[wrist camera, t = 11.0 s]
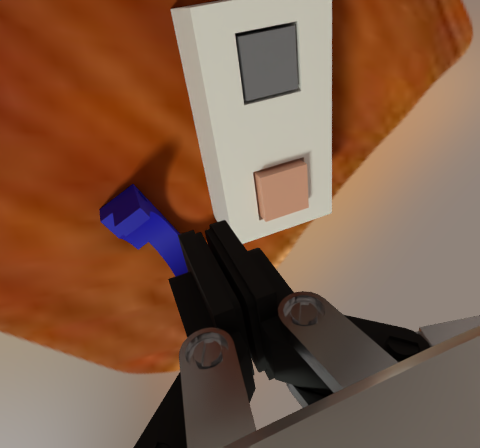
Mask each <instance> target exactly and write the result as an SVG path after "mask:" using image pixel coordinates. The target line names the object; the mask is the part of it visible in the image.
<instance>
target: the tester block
mask: <svg viewBox="0 0 480 448" xmlns="http://www.w3.org/2000/svg"><path fill="white" fill-rule="evenodd" d="M171 14H172V18H173V23H174V28H175V33H176V37H177V42H178V47H179V52H180V56H181V61H182V66H183V71H184V75H185V80H186V85H187V89H188V94H189V99H190V104H191V108H192V113H193V118H194V123H195V127H196V132H197V137H198V142H199V146H200V151H201V156H202V161H203V165H204V170H205V175H206V180H207V184H208V189H209V194H210V198H211V203H212V208H213V213H214V217H215V219H216V220H217V222H219V221H222V220H226V222H227V223H228V224H229V226H230V227H231V229H232V230H233V232H234V233H235V234H236V236H237V237H238V239H239V240H240V241H241V243H242V244H244V243H247V242H249V241H252V240H255V239H258V238H261V237H264V236H267V235H270V234H273V233H276V232H278V231H281V230H284V229H287V228H290V227H293V226H296V225H299V224H302V223H304V222H307V221H310V220H313V219H316V218H319V217H322V216H325V215H328V214H331V213H332V0H220V1H214V2H208V3H202V4H196V5H191V6H185V7H179V8H173V9H171ZM275 25H292V26H295V34H296V55H297V75H298V89H294V90H290V91H286V92H282V93H278V94H274V95H270V96H266V97H262V98H257V99H253V100H249V101H246V100H244V99H243V92H242V84H241V77H240V69H239V61H238V54H237V46H236V38H235V33H239V32H244V31H249V30H254V29H260V28H265V27H270V26H275ZM295 159H300V160H302V161H303V162H305V163H306V164H307V176H308V201H309V208H306V209H303V210H300V211H297V212H294V213H291V214H288V215H285V216H282V217H279V218H276V219H273V220H270V221H267V222H265V220H264V219H263V218H262V217H261V216H260V215H259V214H258V207H257V199H256V192H255V184H254V176H253V172H255V171H259V170H262V169H265V168H269V167H272V166H275V165H279V164H282V163H285V162H289V161H292V160H295Z"/></svg>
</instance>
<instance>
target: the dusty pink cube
mask: <svg viewBox="0 0 480 448" xmlns="http://www.w3.org/2000/svg"><path fill="white" fill-rule="evenodd" d="M253 176H254V184H255V192H256V199H257V207H258V214H259V215H260V216H261V217H262V218H263V219H264V220H265V222H267V221H270V220H273V219H276V218H279V217H282V216H285V215H288V214H291V213H294V212H297V211H300V210H303V209H306V208H309V201H308V176H307V164H306V163H305V162H303V161H302V160H300V159H295V160H292V161H289V162H285V163H282V164H279V165H275V166H272V167H269V168H265V169H262V170H259V171H255V172H253Z"/></svg>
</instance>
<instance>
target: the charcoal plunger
mask: <svg viewBox="0 0 480 448" xmlns="http://www.w3.org/2000/svg"><path fill="white" fill-rule="evenodd" d="M235 38H236V46H237V54H238V61H239V69H240V77H241V84H242V92H243V99H244V100H246V101H249V100H253V99H257V98H262V97H266V96H270V95H274V94H278V93H282V92H286V91H290V90H294V89H298V75H297V55H296V34H295V26H292V25H275V26H270V27H265V28H260V29H254V30H249V31H244V32H239V33H235Z"/></svg>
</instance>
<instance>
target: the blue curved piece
mask: <svg viewBox="0 0 480 448" xmlns="http://www.w3.org/2000/svg"><path fill="white" fill-rule="evenodd" d="M99 210H100V220H101V223H103V224H104V225H105V226H106V227H107V228H108V229H109V230H110V231H111V232H113V233H114V234H115V235H116V236H117V237H118V238H121V239H124V240H126V241H127V242H129V243H131V244H132V245H133V246H134V247H136V248H137V249H140V248H141V247H142V246H143V245H145V244H146V243H147V242H149V243H150V244H151V245H152V246H153V247H154V248H155V249H156V250H157V251H158V252H159V253H160V255H161V256H162V257H163V258H164V260H165V261H166V262H167V264H168V265H169V267H170V268H171V270H172V271H173V273H174V275H175V276H179V275H181V274H184V273H187V272H188V270H187V266H186V263H185V259H184V256H183V253H182V249H181V246H180V242H179V238H178V235H179V234H180V233H179V232H178V231H177V230H176V229H175V228H174V227H173V226H172V225H171V224H170V223H169V221H168V220H167V219H166V218H165V217H164V216H163V215H162V214H161V213H160V212H159V211H158V210H157V209H156V208H155V207H154V206H153V204H152V203H151V202H150V201H149V200H148V199H147V198H146V197H145V196H144V195H143V194H142V193H141V192H140V191H139V190H138V189H137V187H136V186H135V185H134V184H132V185H131V186H130V187H128V188H127V189H126V190H124V191H123V192H122V193H120V194H119V195H118V196H116V197H115V198H114V199H113V200H111V201H110V202H109V203H107V204H106V205H105V206H103V207H102V208H101V209H99Z"/></svg>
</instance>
